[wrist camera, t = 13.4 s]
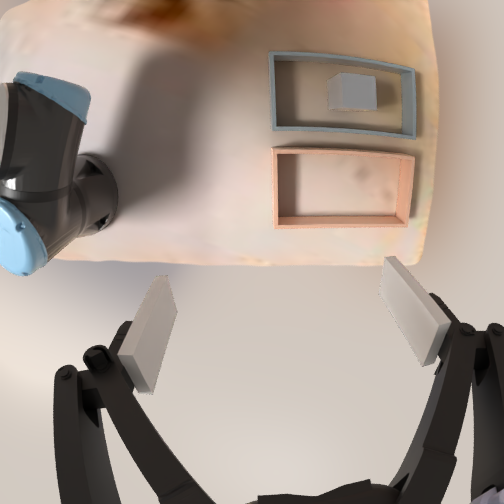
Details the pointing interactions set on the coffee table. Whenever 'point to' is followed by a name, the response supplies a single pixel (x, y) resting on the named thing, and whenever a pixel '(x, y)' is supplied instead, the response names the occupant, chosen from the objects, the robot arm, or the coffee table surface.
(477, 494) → the robot arm
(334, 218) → the trough
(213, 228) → the coffee table surface
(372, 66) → the trough
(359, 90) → the stone block
